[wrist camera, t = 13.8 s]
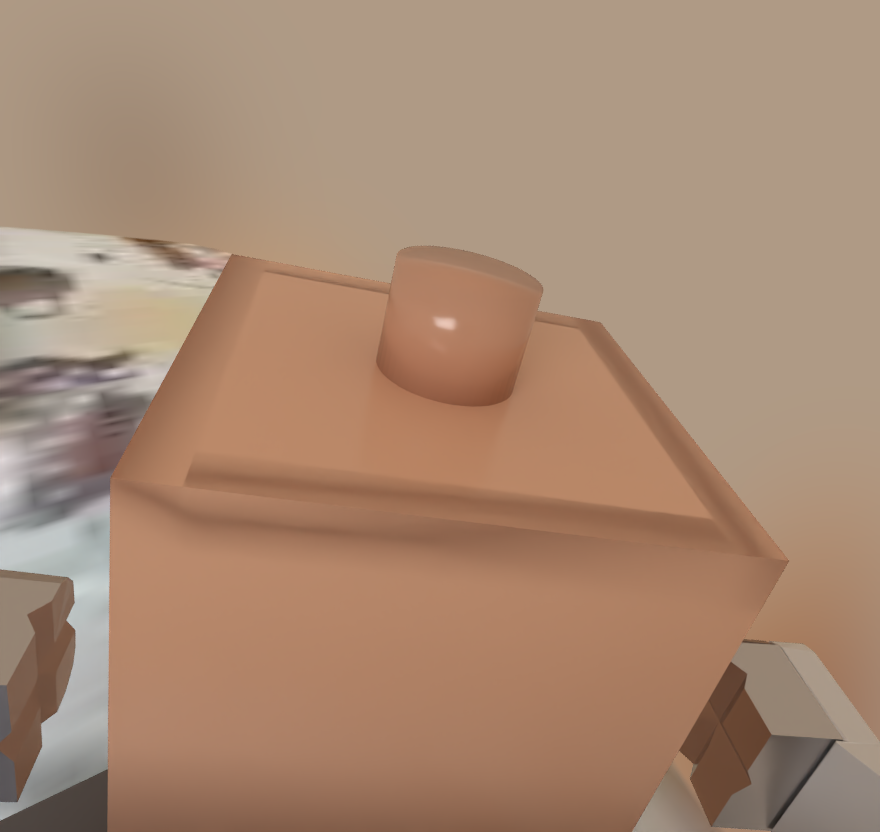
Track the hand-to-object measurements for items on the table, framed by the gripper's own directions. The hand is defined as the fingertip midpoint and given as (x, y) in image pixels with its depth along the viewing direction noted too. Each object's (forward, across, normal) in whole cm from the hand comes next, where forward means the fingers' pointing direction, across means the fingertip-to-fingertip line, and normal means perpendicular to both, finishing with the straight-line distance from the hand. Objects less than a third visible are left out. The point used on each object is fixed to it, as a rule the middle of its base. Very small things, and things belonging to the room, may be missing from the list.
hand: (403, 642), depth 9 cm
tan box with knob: (+1, 0, +7) cm, 7 cm away
